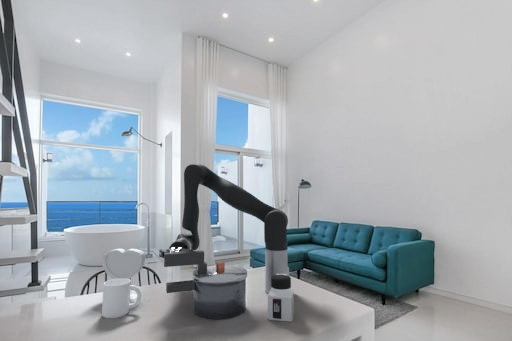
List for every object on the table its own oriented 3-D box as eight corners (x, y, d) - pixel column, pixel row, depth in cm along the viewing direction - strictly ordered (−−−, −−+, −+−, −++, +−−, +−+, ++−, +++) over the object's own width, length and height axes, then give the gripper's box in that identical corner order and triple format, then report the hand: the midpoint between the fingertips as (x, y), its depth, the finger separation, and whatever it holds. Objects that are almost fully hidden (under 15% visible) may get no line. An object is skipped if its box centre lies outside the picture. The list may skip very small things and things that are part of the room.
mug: (143, 307, 99) (144, 277, 100) (137, 317, 91) (138, 284, 92) (107, 309, 98) (109, 278, 99) (97, 319, 90) (99, 286, 91)
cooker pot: (236, 297, 110) (237, 268, 111) (252, 315, 94) (253, 280, 95) (164, 306, 101) (165, 274, 102) (167, 328, 84) (168, 290, 85)
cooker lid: (238, 267, 112) (239, 244, 113) (254, 281, 94) (254, 253, 95) (162, 273, 102) (163, 248, 103) (164, 290, 84) (165, 259, 85)
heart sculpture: (98, 298, 108) (101, 250, 110) (105, 294, 113) (108, 248, 115) (139, 298, 108) (141, 250, 110) (144, 294, 113) (146, 248, 115)
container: (291, 322, 88) (291, 279, 90) (267, 320, 90) (267, 277, 91) (293, 312, 96) (293, 273, 97) (271, 310, 98) (271, 271, 99)
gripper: (164, 239, 113) (151, 247, 96) (197, 239, 114) (190, 247, 97) (163, 258, 113) (150, 269, 96) (197, 258, 114) (190, 269, 96)
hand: (170, 258), depth 96 cm, fingers closed
